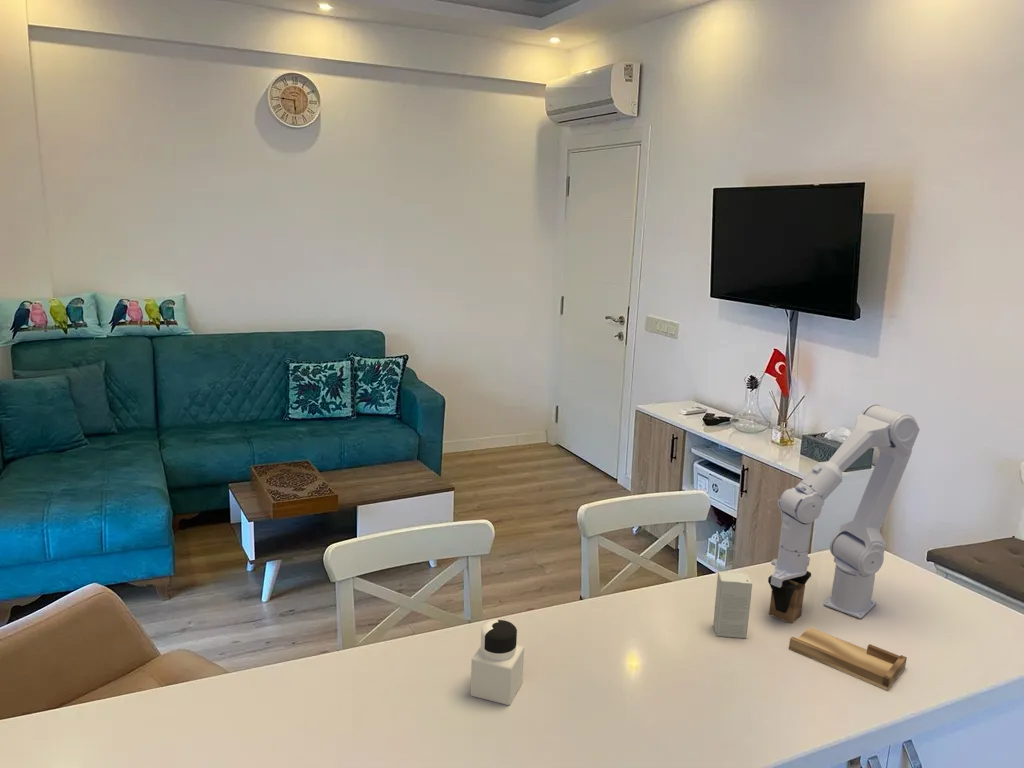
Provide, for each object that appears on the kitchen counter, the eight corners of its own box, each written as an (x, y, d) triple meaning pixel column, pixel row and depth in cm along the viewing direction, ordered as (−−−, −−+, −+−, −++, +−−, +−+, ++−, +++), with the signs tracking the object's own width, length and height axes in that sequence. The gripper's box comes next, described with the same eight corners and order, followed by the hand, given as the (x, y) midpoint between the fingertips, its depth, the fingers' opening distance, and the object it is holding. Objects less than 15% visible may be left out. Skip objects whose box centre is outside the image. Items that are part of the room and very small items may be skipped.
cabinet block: (778, 606, 160) (782, 573, 158) (801, 615, 157) (805, 581, 155) (768, 614, 157) (773, 580, 155) (792, 623, 153) (796, 588, 152)
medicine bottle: (523, 682, 130) (525, 620, 128) (509, 706, 124) (512, 641, 121) (485, 673, 133) (487, 611, 130) (469, 696, 126) (471, 632, 123)
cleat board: (809, 629, 151) (810, 619, 151) (905, 667, 139) (906, 657, 139) (788, 648, 144) (790, 638, 144) (887, 690, 132) (889, 679, 132)
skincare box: (742, 627, 151) (748, 573, 148) (746, 639, 147) (753, 583, 144) (711, 625, 152) (717, 570, 149) (715, 636, 147) (721, 580, 145)
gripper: (789, 530, 161) (782, 588, 164) (759, 550, 151) (752, 611, 154) (822, 541, 156) (814, 600, 159) (793, 562, 146) (785, 624, 149)
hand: (786, 606), depth 156 cm, fingers closed on cabinet block, 4 cm apart
